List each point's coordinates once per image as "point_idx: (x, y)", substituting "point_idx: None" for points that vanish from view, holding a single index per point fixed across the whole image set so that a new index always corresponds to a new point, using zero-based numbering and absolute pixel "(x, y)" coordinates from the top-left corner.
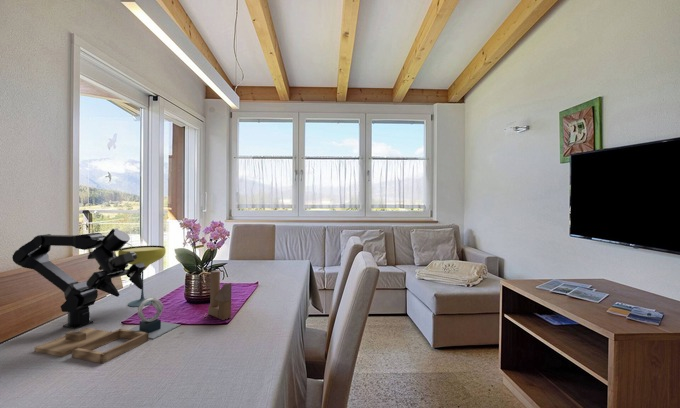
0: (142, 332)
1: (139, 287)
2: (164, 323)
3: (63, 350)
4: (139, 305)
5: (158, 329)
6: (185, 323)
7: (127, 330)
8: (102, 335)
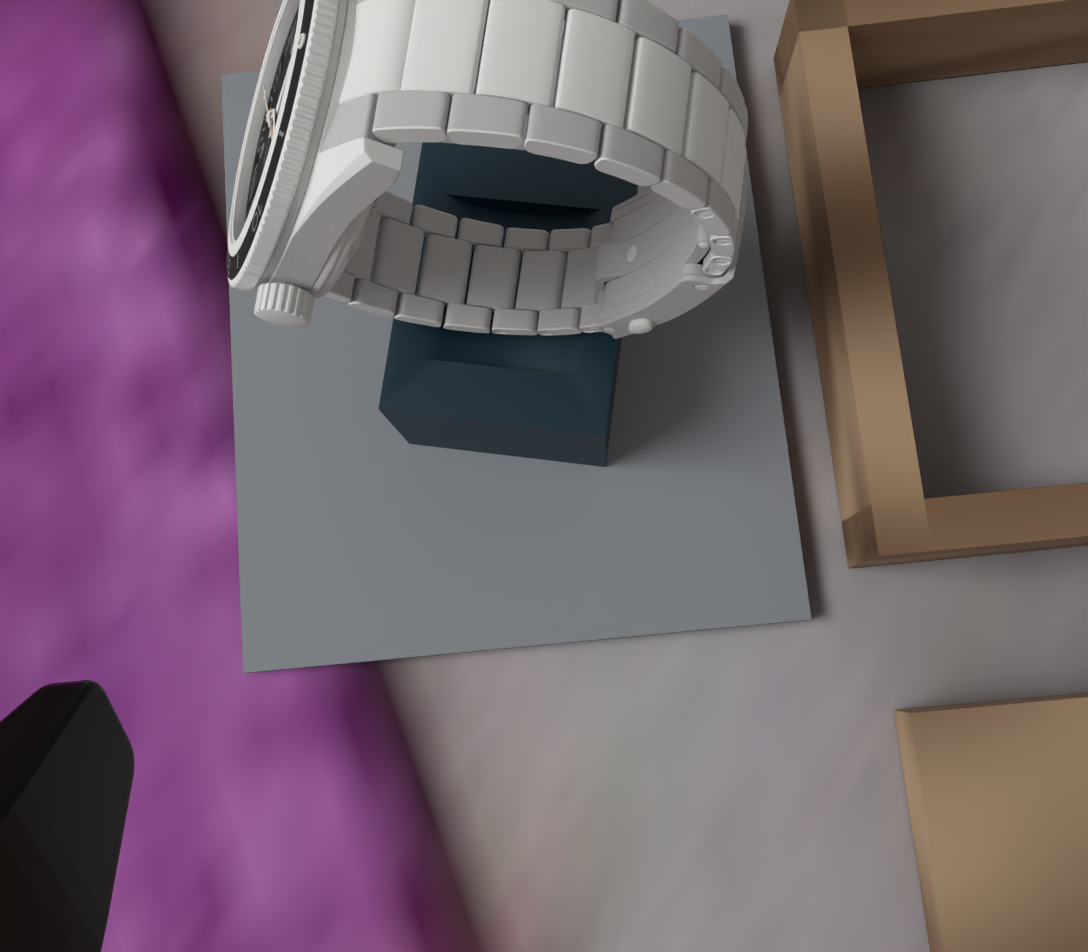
0: (820, 85)
1: (94, 853)
2: (274, 330)
3: None
4: (704, 197)
5: None
6: (141, 87)
7: (875, 372)
8: (1070, 727)
